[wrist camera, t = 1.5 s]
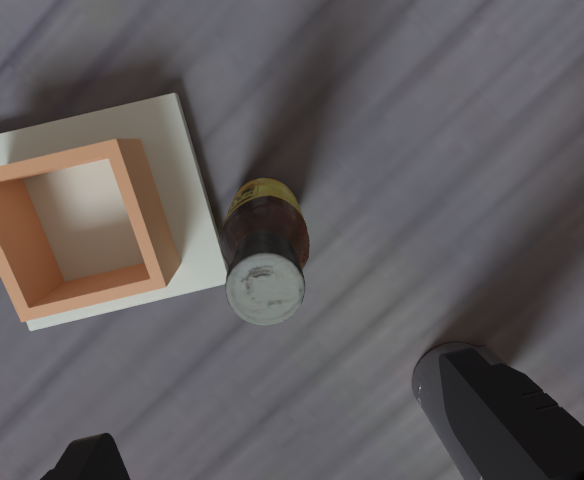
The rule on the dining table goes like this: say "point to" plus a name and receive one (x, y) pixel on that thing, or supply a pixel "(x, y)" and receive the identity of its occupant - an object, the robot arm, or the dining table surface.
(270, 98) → the dining table surface
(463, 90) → the dining table surface
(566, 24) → the dining table surface
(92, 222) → the box on white base
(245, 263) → the sauce bottle
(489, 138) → the dining table surface
